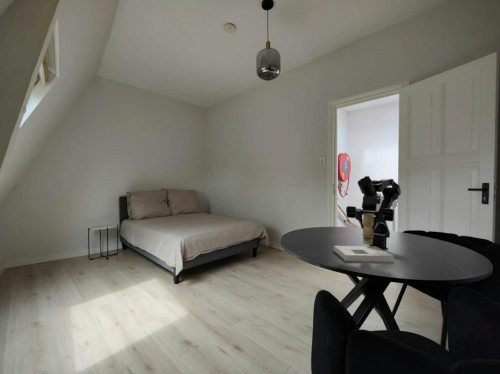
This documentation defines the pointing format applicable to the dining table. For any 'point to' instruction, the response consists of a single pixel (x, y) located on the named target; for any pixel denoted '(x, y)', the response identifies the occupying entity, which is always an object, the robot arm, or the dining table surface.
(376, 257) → the grey socket board
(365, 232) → the oak peg
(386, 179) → the robot arm
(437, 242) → the dining table surface
